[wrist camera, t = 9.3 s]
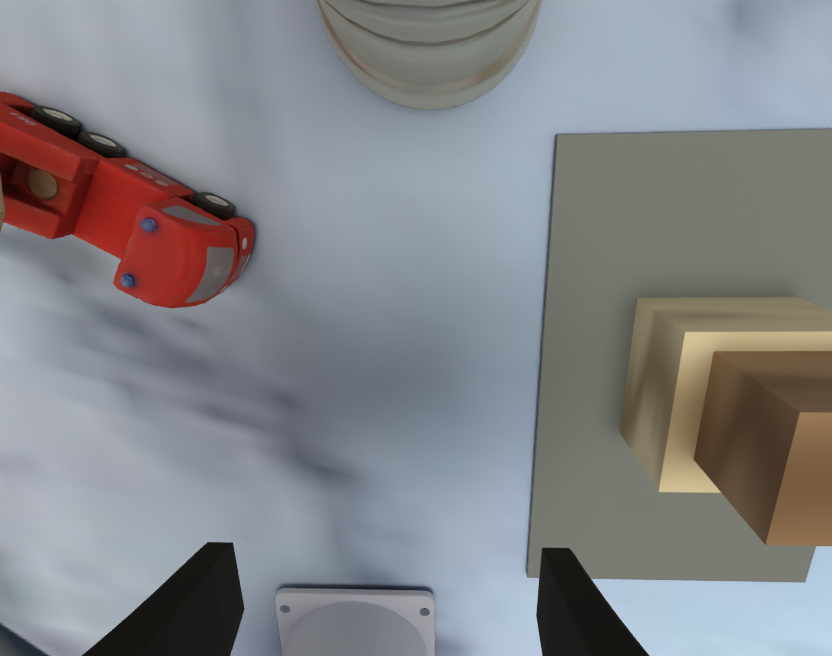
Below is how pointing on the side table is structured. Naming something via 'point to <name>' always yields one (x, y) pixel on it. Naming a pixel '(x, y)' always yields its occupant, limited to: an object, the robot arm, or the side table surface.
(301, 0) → the side table surface
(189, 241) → the toy fire truck
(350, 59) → the plastic bottle
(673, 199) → the grey flat rectangular panel
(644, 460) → the birch base block
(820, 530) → the walnut block
